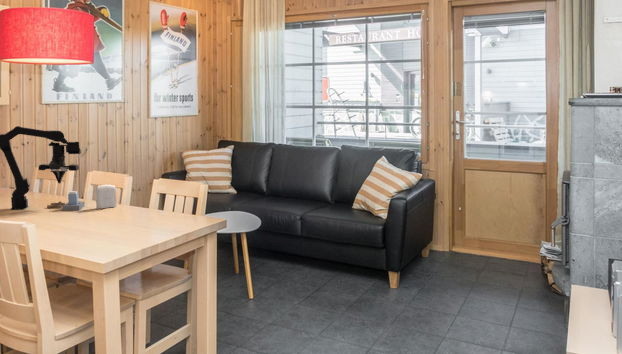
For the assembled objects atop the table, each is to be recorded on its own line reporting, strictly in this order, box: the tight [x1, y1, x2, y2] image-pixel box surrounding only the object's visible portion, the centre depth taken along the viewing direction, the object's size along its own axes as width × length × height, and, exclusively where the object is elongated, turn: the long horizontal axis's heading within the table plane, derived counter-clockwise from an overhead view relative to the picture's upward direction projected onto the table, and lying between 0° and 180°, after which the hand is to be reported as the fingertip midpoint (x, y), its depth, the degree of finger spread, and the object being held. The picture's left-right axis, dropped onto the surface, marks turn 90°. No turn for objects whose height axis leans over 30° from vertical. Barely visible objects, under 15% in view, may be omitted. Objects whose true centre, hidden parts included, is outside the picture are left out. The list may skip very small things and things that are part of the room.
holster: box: [46, 200, 66, 209], centre depth 276 cm, size 9×15×2 cm, turn 11°
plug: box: [67, 190, 80, 205], centre depth 268 cm, size 4×4×9 cm
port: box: [62, 201, 85, 212], centre depth 269 cm, size 8×12×3 cm, turn 11°
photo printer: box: [95, 184, 117, 210], centre depth 272 cm, size 10×4×12 cm, turn 134°
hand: (59, 183), depth 273 cm, fingers closed
